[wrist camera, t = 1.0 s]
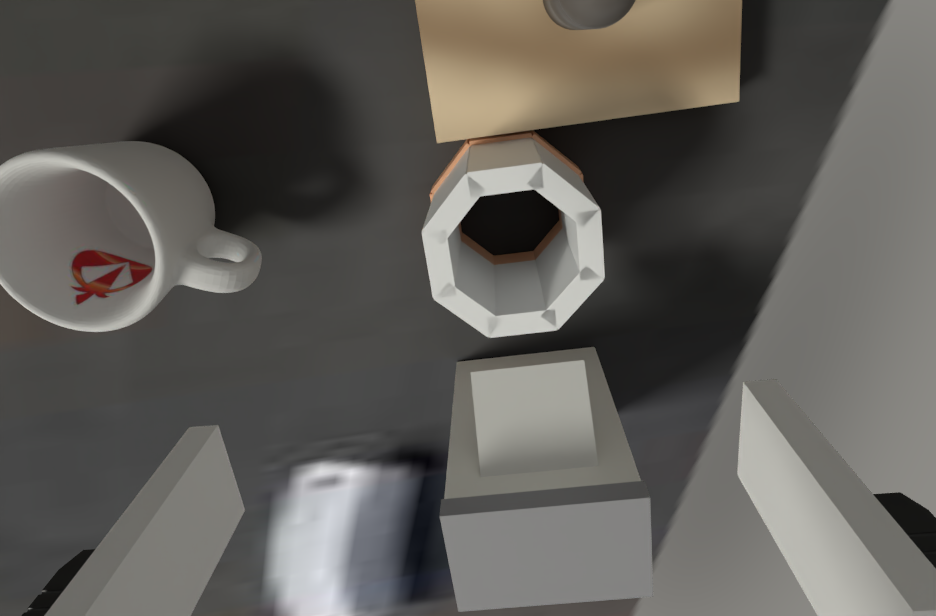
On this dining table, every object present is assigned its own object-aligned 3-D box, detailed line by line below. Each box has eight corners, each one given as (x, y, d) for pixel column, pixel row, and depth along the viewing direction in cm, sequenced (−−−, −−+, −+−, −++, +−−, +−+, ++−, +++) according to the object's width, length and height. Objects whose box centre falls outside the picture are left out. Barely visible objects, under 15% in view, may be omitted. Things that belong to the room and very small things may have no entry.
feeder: (445, 304, 35) (425, 441, 24) (592, 287, 35) (647, 418, 23) (467, 434, 39) (458, 611, 27) (601, 421, 38) (652, 596, 26)
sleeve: (424, 142, 32) (406, 175, 25) (575, 122, 31) (603, 148, 24) (447, 282, 35) (436, 348, 28) (585, 265, 34) (612, 328, 27)
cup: (302, 175, 33) (250, 215, 25) (269, 306, 36) (213, 376, 29) (93, 101, 32) (-25, 121, 24) (77, 244, 35) (-33, 300, 27)
